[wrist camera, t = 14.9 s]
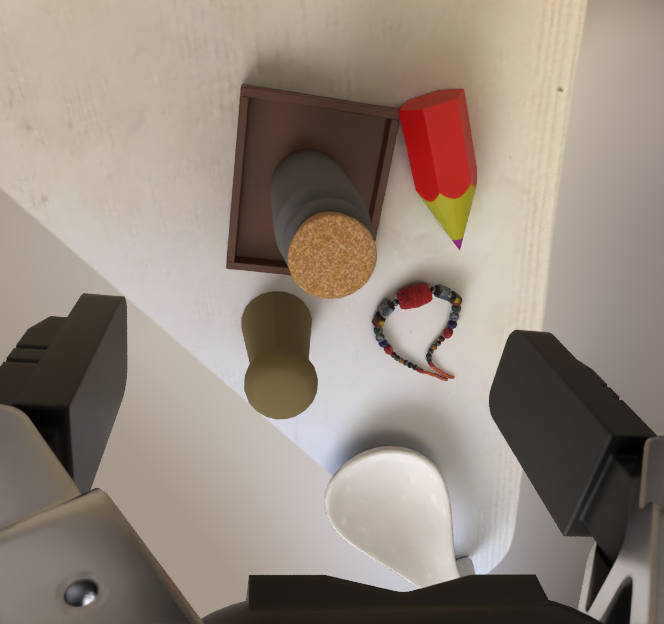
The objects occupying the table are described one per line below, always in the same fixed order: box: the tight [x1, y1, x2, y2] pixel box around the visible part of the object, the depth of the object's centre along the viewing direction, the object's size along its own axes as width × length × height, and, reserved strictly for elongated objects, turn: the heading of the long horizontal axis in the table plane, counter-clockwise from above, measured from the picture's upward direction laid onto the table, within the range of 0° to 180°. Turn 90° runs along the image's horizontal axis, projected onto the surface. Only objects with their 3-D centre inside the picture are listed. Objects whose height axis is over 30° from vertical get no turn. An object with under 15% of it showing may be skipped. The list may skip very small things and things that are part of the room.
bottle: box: [271, 150, 377, 299], centre depth 36 cm, size 6×6×15 cm
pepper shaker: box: [242, 292, 318, 419], centre depth 43 cm, size 6×6×11 cm
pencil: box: [398, 89, 477, 250], centre depth 42 cm, size 5×12×4 cm, turn 17°
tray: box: [226, 84, 400, 283], centre depth 42 cm, size 13×11×2 cm
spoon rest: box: [325, 446, 475, 589], centre depth 56 cm, size 24×12×7 cm, turn 33°
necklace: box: [372, 283, 462, 381], centre depth 50 cm, size 8×11×2 cm
